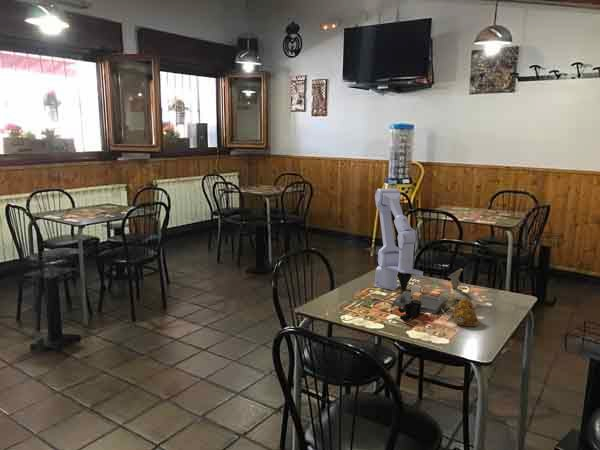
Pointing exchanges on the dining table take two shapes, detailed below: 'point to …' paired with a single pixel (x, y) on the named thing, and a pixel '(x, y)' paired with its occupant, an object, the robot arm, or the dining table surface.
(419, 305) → the toy
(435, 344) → the dining table surface
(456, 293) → the jawbone
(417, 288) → the block
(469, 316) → the rock
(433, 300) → the panel
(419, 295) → the fader orange
